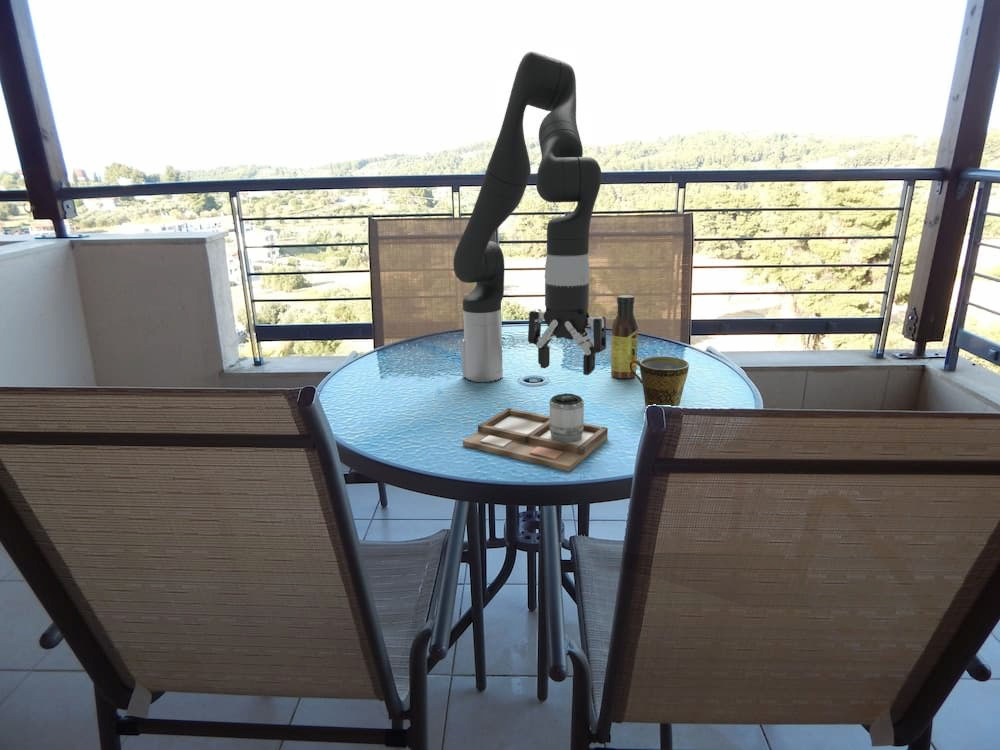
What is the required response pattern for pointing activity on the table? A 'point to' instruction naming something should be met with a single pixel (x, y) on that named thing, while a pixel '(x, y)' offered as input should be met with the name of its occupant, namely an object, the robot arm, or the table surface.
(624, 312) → the sauce bottle
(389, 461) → the table surface
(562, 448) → the board
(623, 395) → the table surface
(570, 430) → the camera lens
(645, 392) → the ceramic cup
